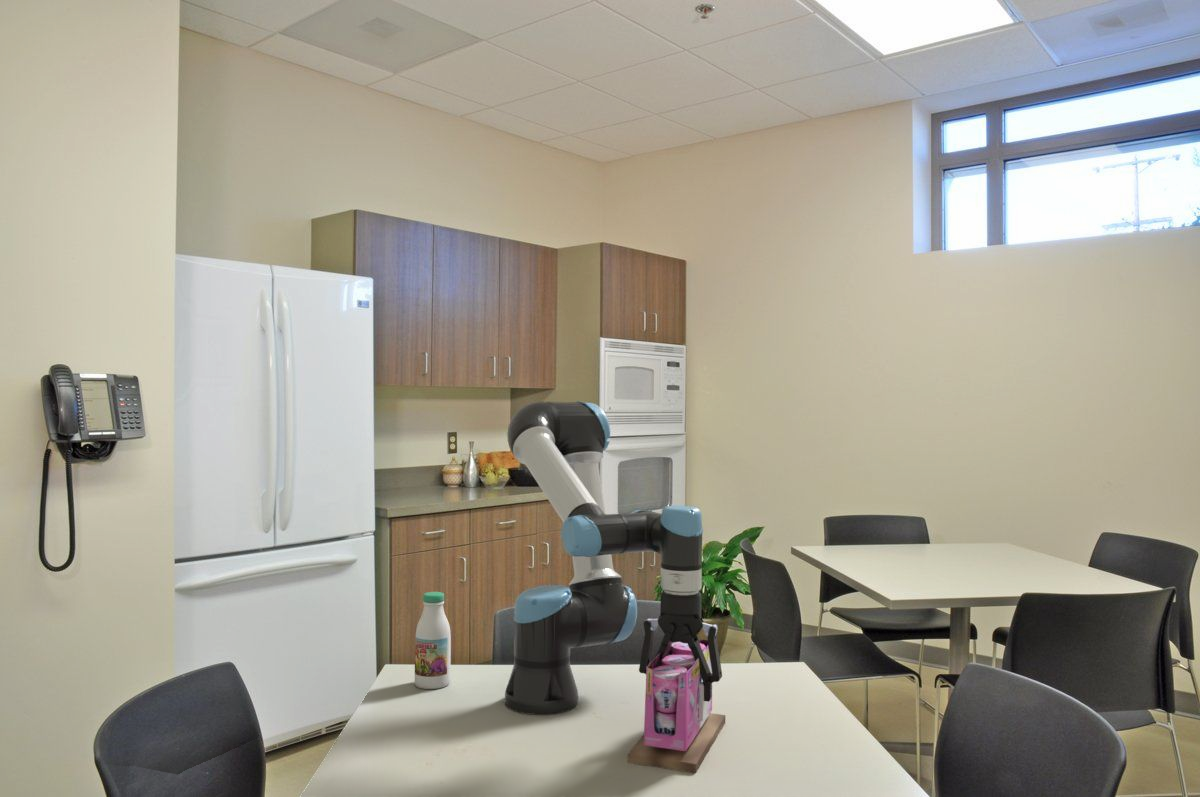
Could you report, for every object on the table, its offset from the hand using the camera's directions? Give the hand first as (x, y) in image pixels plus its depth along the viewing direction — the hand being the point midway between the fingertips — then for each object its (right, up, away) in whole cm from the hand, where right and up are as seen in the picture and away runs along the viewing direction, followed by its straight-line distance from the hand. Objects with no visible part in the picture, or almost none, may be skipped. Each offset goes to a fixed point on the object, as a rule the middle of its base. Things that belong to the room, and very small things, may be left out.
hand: (679, 715), depth 158 cm
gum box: (0, -3, 0) cm, 3 cm away
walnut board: (0, -5, 0) cm, 5 cm away
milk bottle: (-52, -5, +31) cm, 60 cm away
